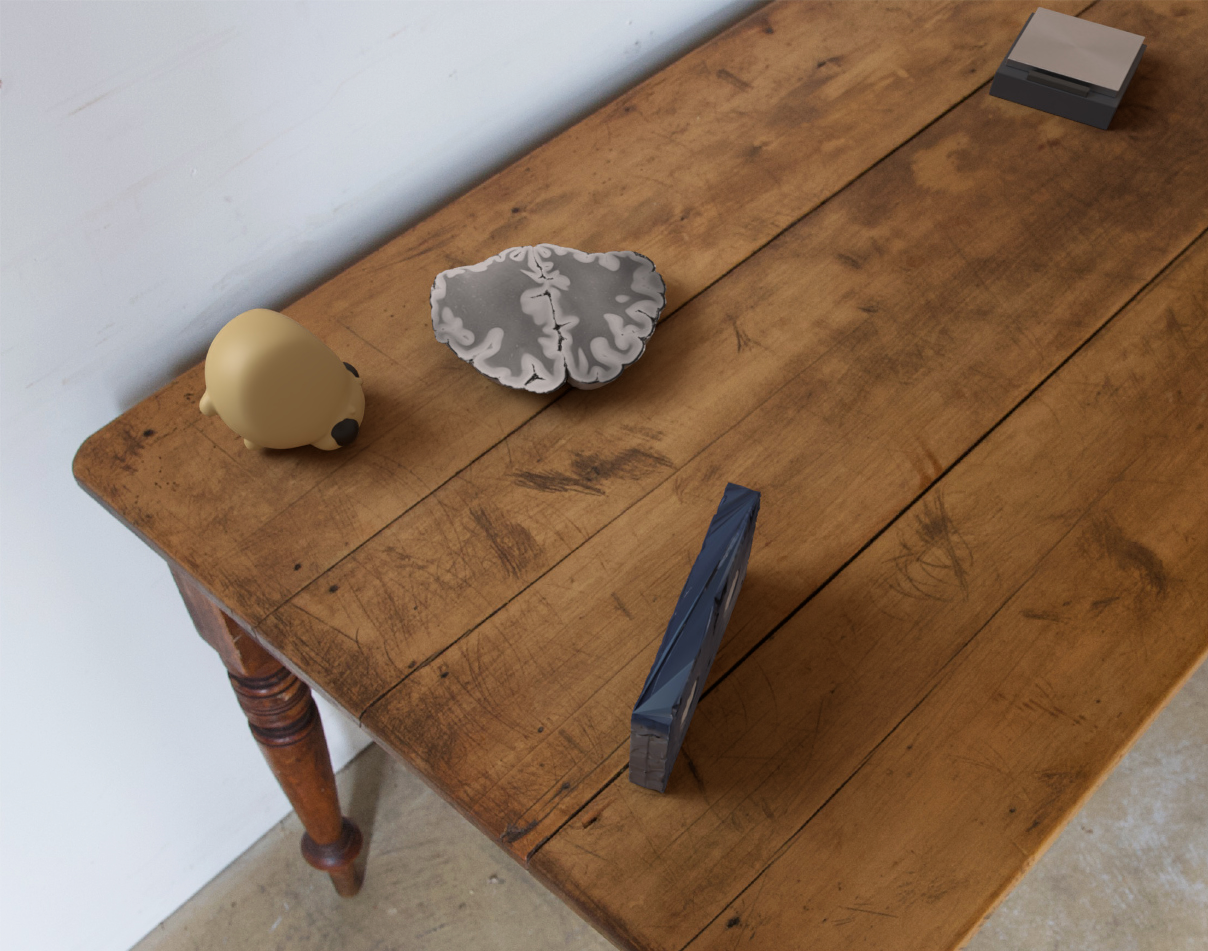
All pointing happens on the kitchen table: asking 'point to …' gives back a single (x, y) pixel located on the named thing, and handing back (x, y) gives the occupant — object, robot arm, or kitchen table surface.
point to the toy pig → (281, 385)
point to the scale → (1069, 67)
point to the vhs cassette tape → (692, 640)
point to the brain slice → (549, 315)
